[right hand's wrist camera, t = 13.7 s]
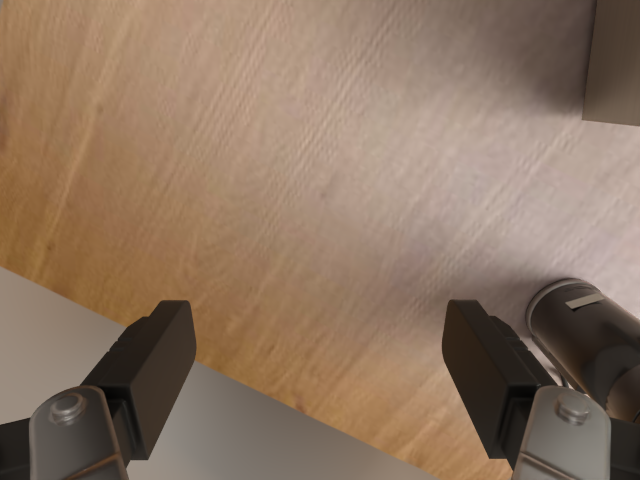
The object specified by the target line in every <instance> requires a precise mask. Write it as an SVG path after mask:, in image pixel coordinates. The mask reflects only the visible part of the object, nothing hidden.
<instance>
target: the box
mask: <svg viewBox="0 0 640 480" xmlns="http://www.w3.org/2000/svg"><path fill="white" fill-rule="evenodd" d="M582 120H586V121H596V122H605V123H614V124H623V125H632V126H640V0H597V8H596V15H595V23H594V30H593V38H592V46H591V53H590V61H589V69H588V76H587V84H586V92H585V99H584V107H583V114H582Z"/></svg>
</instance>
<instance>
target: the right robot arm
mask: <svg viewBox="0 0 640 480" xmlns="http://www.w3.org/2000/svg"><path fill="white" fill-rule="evenodd" d="M526 323H527V326H528V328H529V330H530V331H531V333H532V341H533V342H534V343H535V344H536V345H537V346H538V348H539V349H540V350H541V351H542V352H543V354H544V355H545V356H546V357H547V358H548V359H549V361H550V362H551V363H552V364H553V365H554V366H555V368H556V369H557V370H558V371H559V372H560V373H561V378H562V382H563V386H564V387H563V386H558V385H557V383H556V382H555V381H554V380H553V378H552V377H551V376H550V375H549V374H548V372H547V371H546V370H545V369H544V367H543V366H542V365H541V364H540V362H539V361H538V360H537V359H536V358H535V356H534V355H533V354H532V353H531V351H528V348H527V346H526V345H525V344H524V343H523V342H522V340H520V338H519V337H518V335H517V334H516V333H515V332H514V330H513V329H512V328H511V327H510V326H509V325H508V324H506V323H505V322H503V321H502V320H500V319H499V318H497V317H496V316H488V314H487V313H486V312H485V310H484V309H483V308H482V306H481V305H480V304H479V302H478V301H477V300H450V301H449V303H448V306H447V312H446V318H445V325H444V331H443V338H442V354H443V358H444V362H445V364H446V366H447V368H448V370H449V373H450V375H451V377H452V379H453V381H454V383H455V386H456V388H457V390H458V392H459V394H460V396H461V399H462V401H463V403H464V405H465V407H466V409H467V411H468V414H469V416H470V418H471V420H472V422H473V424H474V427H475V429H476V431H477V433H478V435H479V437H480V440H481V442H482V444H483V446H484V448H485V450H486V453H487V455H488V457H489V459H507V460H508V462H509V464H510V466H511V468H512V470H513V474H512V478H511V480H640V320H639V319H638V318H637V317H635V316H634V315H632V314H631V313H630V312H628V311H627V310H625V309H624V308H622V307H621V306H620V305H618V304H617V303H615V302H614V301H613V300H611V299H610V298H608V297H607V296H606V295H604V294H603V293H601V291H600V290H598V289H597V288H596V287H595V286H593V285H592V284H590V283H588V282H586V281H583V280H579V279H566V280H561V281H558V282H555V283H553V284H550V285H549V286H547V287H545V288H544V289H542V290H541V291H540V292H539V293H538V294H537V295H536V296H535V297H534V298H533V299H532V301H531V302H530V304H529V306H528V309H527V312H526ZM195 355H196V338H195V331H194V325H193V318H192V312H191V306H190V303H189V302H188V301H187V300H163V301H161V302H160V303H159V304H158V305H157V307H156V308H155V309H154V311H153V312H152V313H151V315H150V316H149V317H142V318H140V319H139V320H137V321H136V322H134V323H133V324H131V325H130V326H128V327H127V328H126V330H125V331H124V332H123V333H122V335H121V336H120V337H119V338H118V341H116V342H115V343H114V344H113V346H112V347H111V348H110V351H109V352H107V353H106V354H105V355H104V356H103V358H102V359H101V360H100V361H99V362H98V364H97V365H96V366H95V367H94V369H93V370H92V371H91V372H90V373H89V375H88V376H87V377H86V378H85V380H84V381H83V382H82V383H81V384H80V386H77V387H73V388H70V389H67V390H64V391H62V392H60V393H58V394H56V395H54V396H52V397H51V398H49V399H48V400H46V401H45V402H44V403H43V404H41V405H40V406H39V407H38V408H37V410H36V411H35V412H34V413H33V415H32V416H31V418H27V419H23V420H19V421H15V422H10V423H6V424H2V425H0V480H129V478H128V474H127V471H126V468H127V466H128V464H129V462H130V460H148V459H149V457H150V455H151V452H152V450H153V448H154V446H155V444H156V442H157V440H158V438H159V435H160V433H161V431H162V429H163V427H164V425H165V423H166V420H167V418H168V416H169V414H170V412H171V410H172V408H173V405H174V403H175V401H176V399H177V397H178V395H179V393H180V390H181V388H182V386H183V384H184V382H185V380H186V378H187V376H188V373H189V371H190V369H191V367H192V365H193V363H194V360H195ZM568 383H569V384H570V385H571V386H572V387H573V389H574V390H573V389H570V388H569V386H568ZM584 394H587V395H588V396H589V397H590V398H589V397H588V396H586V395H584Z"/></svg>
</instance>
